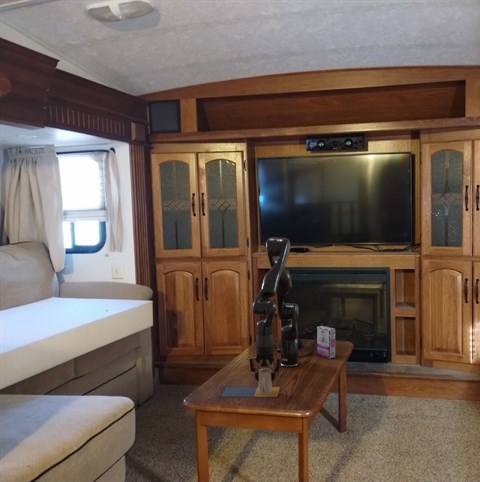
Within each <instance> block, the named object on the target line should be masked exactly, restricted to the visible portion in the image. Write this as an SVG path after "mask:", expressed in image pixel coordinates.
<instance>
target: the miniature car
mask: <svg viewBox="0 0 480 482" xmlns="http://www.w3.org/2000/svg"><path fill="white" fill-rule="evenodd" d="M302 346H303V341H302V339H301V338H298V348H302ZM276 351H277V352H281V338H280V339H279V342H278V344H277V348H276Z"/></svg>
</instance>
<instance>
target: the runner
mask: <svg viewBox="0 0 480 482" xmlns="http://www.w3.org/2000/svg"><path fill="white" fill-rule="evenodd" d="M280 388H281V387H280V386H272V392H271V393H269V394H260V393H259V392H258V386H225V388H224V390H223V392H222V394H221V395H220V397H221V398H222V397H224V398H233V397H234V398H249V397H250V398H269V397H270V398H277V397H278V396H279V393H280Z"/></svg>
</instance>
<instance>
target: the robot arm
mask: <svg viewBox="0 0 480 482" xmlns="http://www.w3.org/2000/svg"><path fill="white" fill-rule="evenodd" d="M290 241H291V240H289V238H287V237H274V236H273V237H269V238H267V239H266V242H265V250H266V255H267V258H268V262H269V266H270V269H269V270H268V271H267V272H266V273H265V275H264V277H263V280H262V285H261V288H260V290H259V292H258V294H257V296H256V298H255V299H254V301H253V303H252V307H251V308H252V313H253V314H254V315H255V316H262V317H266V318H265V319H261V320H259V321H257V322H256V339H255V341H256V342H255V344H256V346H255V347H256V351H255V352H256V354H255V355H256V356H255V357H252V356H250V358H249V360H248V361H249V367H250V372H251V373H254V380H256V382H258V371H259V370H260V368H261V367H262V368H264V367H266V368H268V369H271V371H272V382H274V380H276V372H277V373H278V372H279V371H280V370H279V369H280V366H281V367H285V368H293V367H298V365H299V358H305V357H308V356H309V355H311V354H312V353H313V352H314V344H315V343H317V339H316V340H314V341H313V342H312V344H311V351H310V352H308V353H306V354H305V355H299V347H298V339H299V305H298V303H295V302H294V303H293V302H284V301H285V299H286V297H287V295H288V294H289V292H290V291H291V290H292V287H293V286H292V285H293V283H292V276H291V273H290V271H289V270H288V269H287V268H286V266H285V265H286V263H287V260H288V257H289V255H290V252H291V242H290ZM273 297H275V299H276V302H275V301H274V300H273V299H272V300H271V299H269V298H273ZM276 311H277V317H278V319H279V321H288V322H290V323H289V324H287V325H284V326H281V328H280V339H281V351H280V356H278V357H276V356H275V355H274V334H273V333H274V332H273V325H274V320H275V315H276ZM274 362H275V363H276V366H275V367H274V364H273V363H274ZM255 363H257V366H256V368H255Z"/></svg>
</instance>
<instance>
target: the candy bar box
mask: <svg viewBox="0 0 480 482" xmlns="http://www.w3.org/2000/svg"><path fill="white" fill-rule="evenodd" d="M336 337H337V336H336V328H333V327H330V326H327V325H320V326H317V327H316V340H317V342H316V355H317V356H320V357H323V358H326V359H329V360H330V359H334V358H336V354H337V353H336V339H337V338H336Z"/></svg>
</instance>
